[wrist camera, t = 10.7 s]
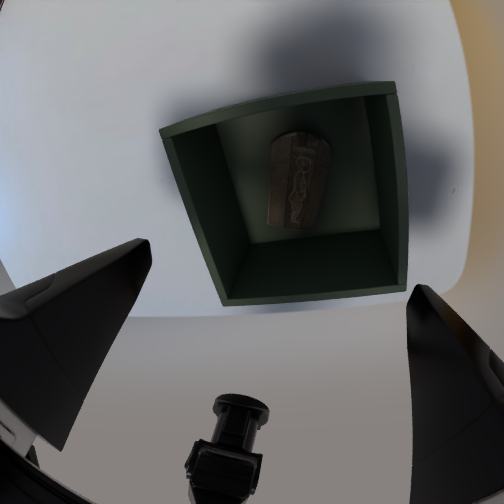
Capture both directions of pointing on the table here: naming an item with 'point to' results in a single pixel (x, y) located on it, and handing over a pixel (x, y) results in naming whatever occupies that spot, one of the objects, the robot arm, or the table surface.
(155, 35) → the table surface
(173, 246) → the table surface
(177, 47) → the table surface
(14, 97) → the table surface
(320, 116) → the bin
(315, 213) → the block
